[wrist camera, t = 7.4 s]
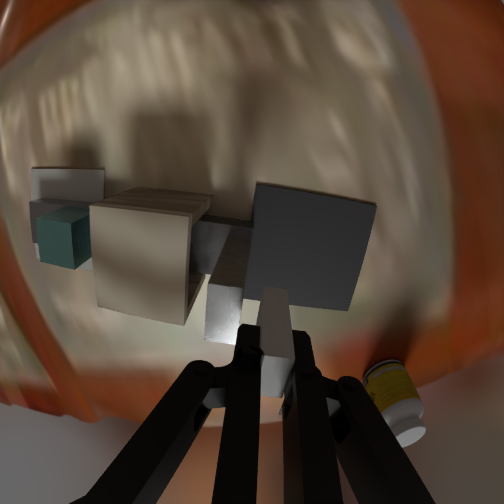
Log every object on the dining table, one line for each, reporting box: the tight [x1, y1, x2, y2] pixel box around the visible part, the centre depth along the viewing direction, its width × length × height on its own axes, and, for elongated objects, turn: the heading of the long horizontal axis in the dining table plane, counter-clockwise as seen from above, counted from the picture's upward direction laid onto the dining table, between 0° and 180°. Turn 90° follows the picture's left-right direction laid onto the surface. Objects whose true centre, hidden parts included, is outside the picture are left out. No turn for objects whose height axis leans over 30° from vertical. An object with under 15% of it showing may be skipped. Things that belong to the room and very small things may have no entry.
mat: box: [31, 169, 105, 271], centre depth 28 cm, size 12×12×1 cm
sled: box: [29, 198, 254, 345], centre depth 22 cm, size 5×26×12 cm, turn 82°
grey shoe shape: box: [243, 184, 377, 311], centre depth 28 cm, size 12×12×1 cm
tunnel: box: [89, 187, 213, 326], centre depth 24 cm, size 9×8×9 cm
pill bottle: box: [363, 360, 426, 448], centre depth 29 cm, size 6×6×12 cm
